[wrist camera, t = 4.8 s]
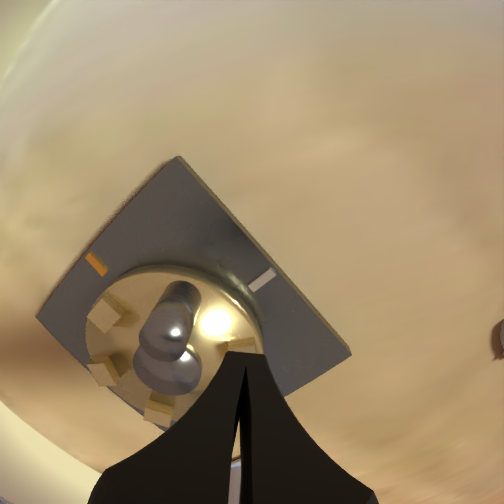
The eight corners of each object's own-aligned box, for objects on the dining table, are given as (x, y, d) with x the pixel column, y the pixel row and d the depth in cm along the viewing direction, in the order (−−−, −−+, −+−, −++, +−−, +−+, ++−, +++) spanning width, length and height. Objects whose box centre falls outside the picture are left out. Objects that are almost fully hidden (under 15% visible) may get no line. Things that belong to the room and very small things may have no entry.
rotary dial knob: (236, 420, 21) (231, 482, 16) (95, 376, 20) (64, 429, 15) (289, 296, 18) (300, 359, 12) (103, 240, 17) (48, 280, 11)
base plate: (187, 437, 24) (184, 447, 23) (42, 311, 20) (34, 318, 19) (348, 346, 20) (352, 356, 19) (180, 155, 16) (174, 156, 15)
